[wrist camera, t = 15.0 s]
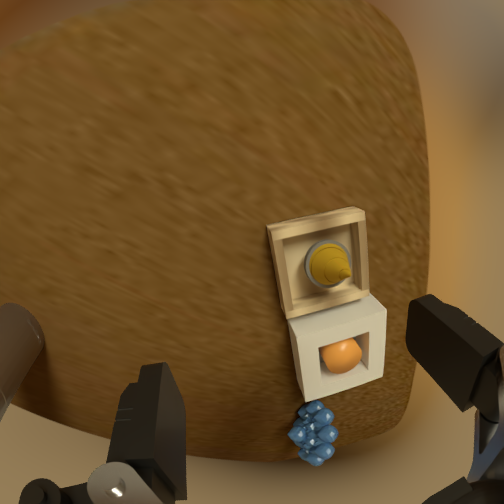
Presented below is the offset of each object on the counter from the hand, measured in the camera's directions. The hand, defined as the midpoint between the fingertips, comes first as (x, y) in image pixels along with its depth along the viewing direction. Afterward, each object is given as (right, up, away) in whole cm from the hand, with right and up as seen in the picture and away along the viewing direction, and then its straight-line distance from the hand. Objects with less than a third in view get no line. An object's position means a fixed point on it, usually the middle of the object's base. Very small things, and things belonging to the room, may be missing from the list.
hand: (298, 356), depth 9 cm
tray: (+7, +2, +29) cm, 30 cm away
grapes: (+6, -22, +38) cm, 44 cm away
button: (+10, -9, +33) cm, 36 cm away
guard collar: (+10, -9, +34) cm, 36 cm away
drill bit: (+7, +2, +29) cm, 29 cm away
